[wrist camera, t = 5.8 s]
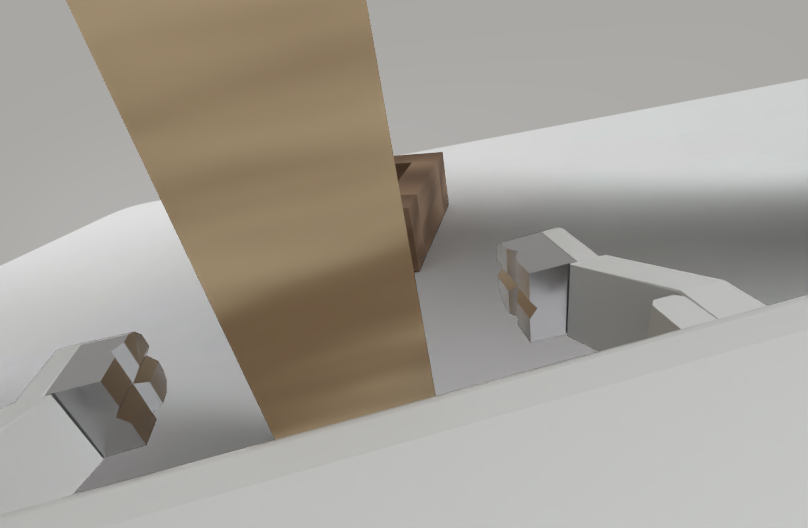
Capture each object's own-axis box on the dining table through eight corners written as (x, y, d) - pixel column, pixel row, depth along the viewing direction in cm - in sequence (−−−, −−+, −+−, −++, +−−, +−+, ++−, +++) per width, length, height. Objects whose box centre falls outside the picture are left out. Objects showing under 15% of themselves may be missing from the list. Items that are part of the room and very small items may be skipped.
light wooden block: (461, 534, 14) (350, -111, 6) (335, 572, 13) (31, -59, 5) (430, 430, 17) (334, -58, 9) (330, 458, 17) (141, -24, 9)
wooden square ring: (419, 271, 28) (408, 207, 26) (279, 270, 31) (258, 213, 29) (448, 204, 36) (442, 152, 34) (336, 209, 40) (323, 161, 37)
